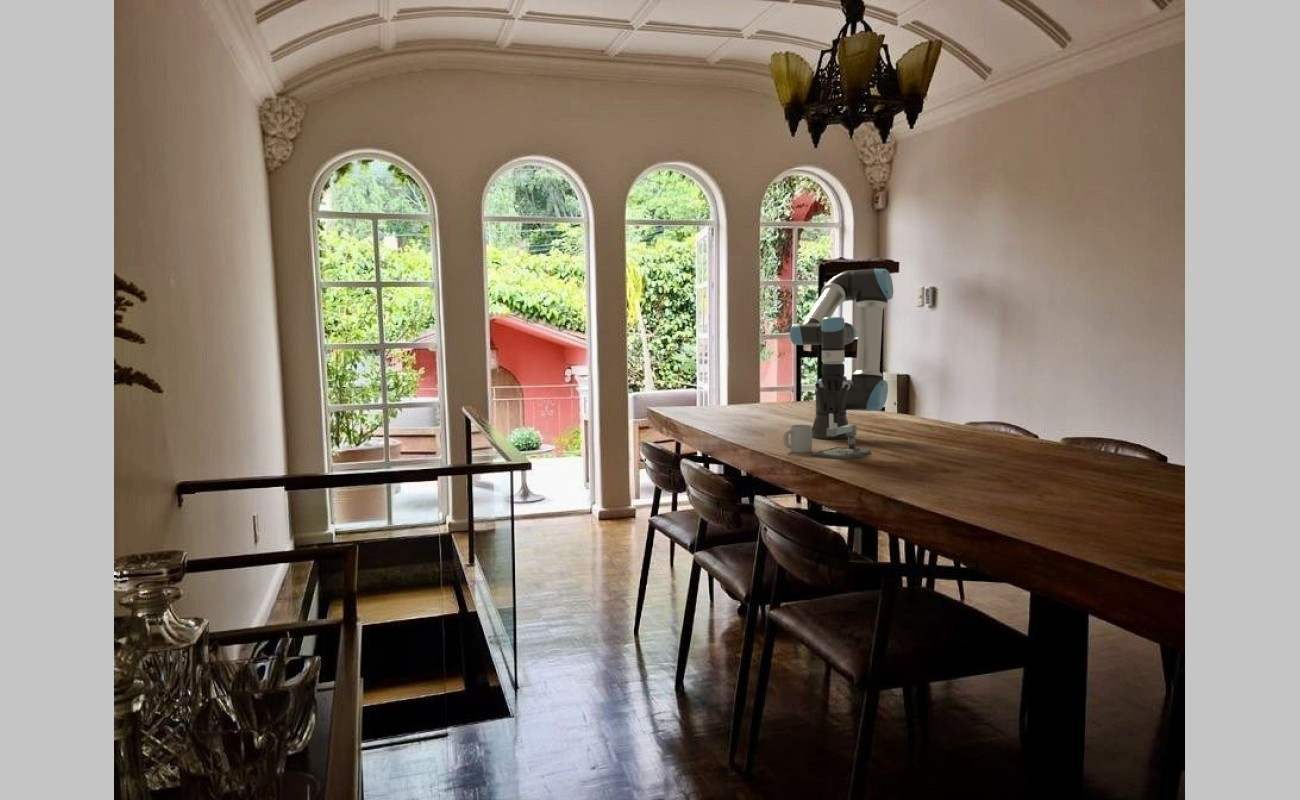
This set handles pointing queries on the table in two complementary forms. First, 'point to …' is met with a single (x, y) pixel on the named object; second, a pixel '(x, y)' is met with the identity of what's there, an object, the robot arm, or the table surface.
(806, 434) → the cup
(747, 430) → the table surface
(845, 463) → the table surface
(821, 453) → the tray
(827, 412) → the robot arm
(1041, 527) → the table surface
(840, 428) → the cable arm
